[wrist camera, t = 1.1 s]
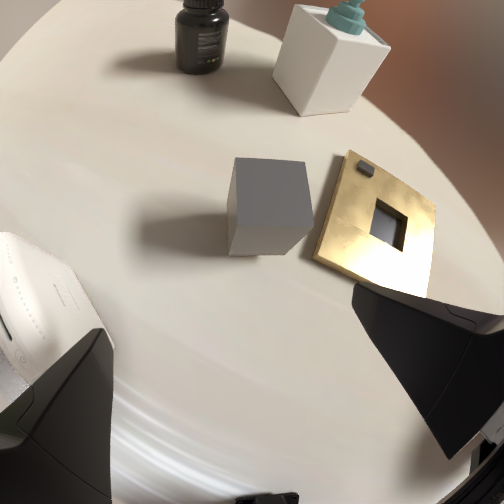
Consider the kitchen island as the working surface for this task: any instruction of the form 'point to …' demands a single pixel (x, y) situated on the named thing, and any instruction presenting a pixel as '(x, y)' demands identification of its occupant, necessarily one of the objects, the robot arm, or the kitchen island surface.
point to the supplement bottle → (201, 36)
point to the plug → (267, 206)
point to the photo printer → (39, 307)
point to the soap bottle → (327, 58)
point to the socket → (377, 228)
